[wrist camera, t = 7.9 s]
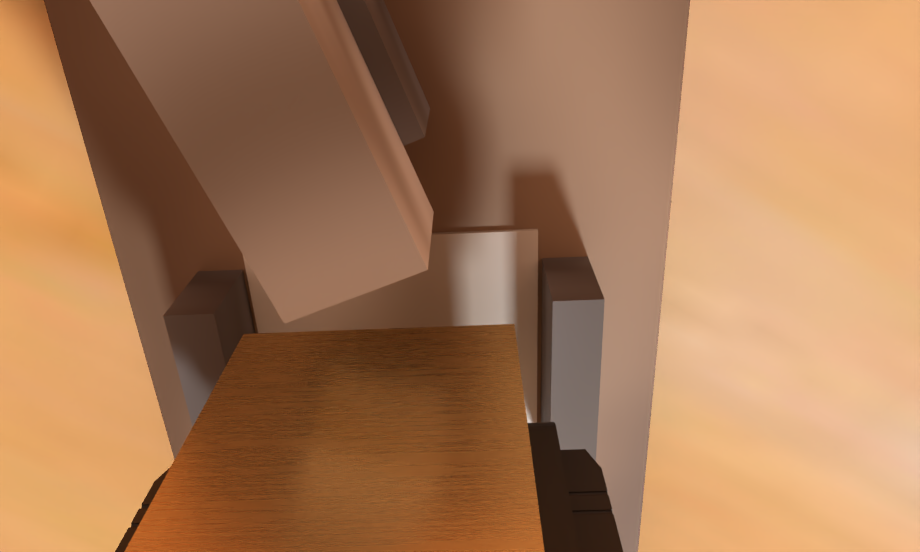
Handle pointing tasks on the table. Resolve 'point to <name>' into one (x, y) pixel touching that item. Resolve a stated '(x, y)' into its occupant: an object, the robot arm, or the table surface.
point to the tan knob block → (356, 448)
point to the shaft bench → (474, 165)
